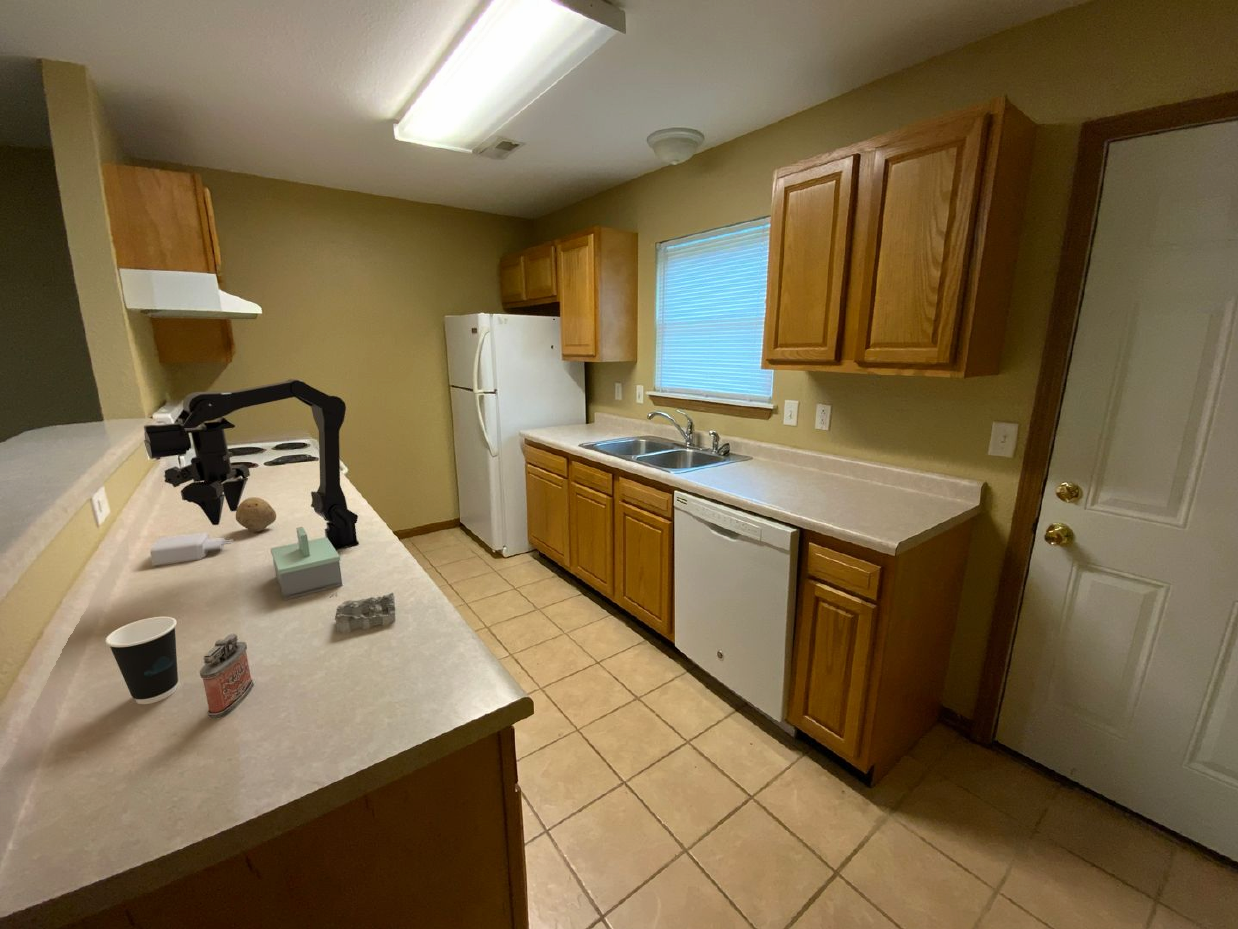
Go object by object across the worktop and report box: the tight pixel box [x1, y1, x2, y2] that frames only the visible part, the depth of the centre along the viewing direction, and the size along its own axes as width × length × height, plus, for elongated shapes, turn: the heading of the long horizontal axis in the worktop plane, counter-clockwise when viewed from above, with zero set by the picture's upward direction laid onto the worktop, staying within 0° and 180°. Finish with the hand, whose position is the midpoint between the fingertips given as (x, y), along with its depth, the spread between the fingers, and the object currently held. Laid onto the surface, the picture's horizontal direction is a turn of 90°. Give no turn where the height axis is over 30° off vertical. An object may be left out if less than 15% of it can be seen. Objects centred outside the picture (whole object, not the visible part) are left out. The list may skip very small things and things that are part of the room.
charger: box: [150, 532, 234, 567], centre depth 130 cm, size 5×9×15 cm
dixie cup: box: [105, 616, 179, 705], centre depth 79 cm, size 8×8×11 cm
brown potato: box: [235, 496, 277, 533], centre depth 145 cm, size 9×9×10 cm
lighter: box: [199, 633, 255, 720], centre depth 78 cm, size 8×3×10 cm, turn 5°
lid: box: [270, 526, 341, 575], centre depth 115 cm, size 11×14×7 cm
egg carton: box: [334, 592, 396, 634], centre depth 101 cm, size 11×8×4 cm
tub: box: [272, 558, 343, 601], centre depth 116 cm, size 11×14×6 cm
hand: (225, 517), depth 117 cm, fingers open, 9 cm apart
